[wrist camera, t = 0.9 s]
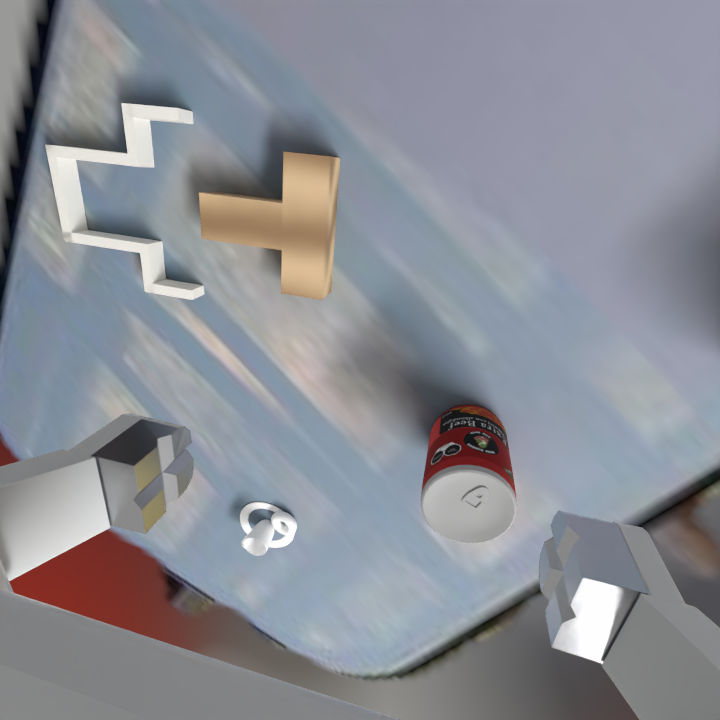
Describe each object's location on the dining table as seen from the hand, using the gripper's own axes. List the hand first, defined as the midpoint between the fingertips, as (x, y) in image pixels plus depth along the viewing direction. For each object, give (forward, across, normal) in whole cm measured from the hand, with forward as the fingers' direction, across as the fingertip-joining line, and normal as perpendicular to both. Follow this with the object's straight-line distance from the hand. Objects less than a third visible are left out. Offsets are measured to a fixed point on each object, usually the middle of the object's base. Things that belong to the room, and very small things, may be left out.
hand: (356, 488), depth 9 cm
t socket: (+32, +31, -1) cm, 44 cm away
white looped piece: (+33, +14, +40) cm, 53 cm away
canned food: (+32, -6, +18) cm, 37 cm away
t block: (+32, +16, -1) cm, 35 cm away
